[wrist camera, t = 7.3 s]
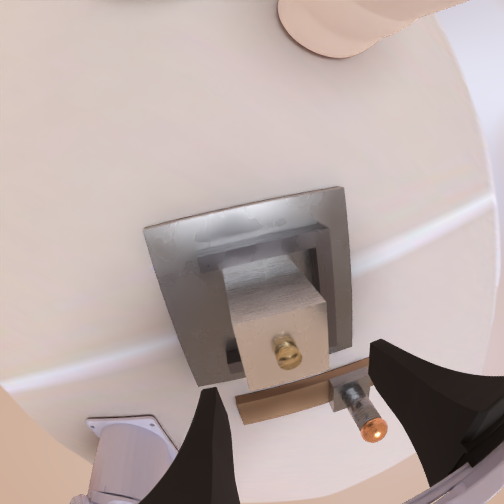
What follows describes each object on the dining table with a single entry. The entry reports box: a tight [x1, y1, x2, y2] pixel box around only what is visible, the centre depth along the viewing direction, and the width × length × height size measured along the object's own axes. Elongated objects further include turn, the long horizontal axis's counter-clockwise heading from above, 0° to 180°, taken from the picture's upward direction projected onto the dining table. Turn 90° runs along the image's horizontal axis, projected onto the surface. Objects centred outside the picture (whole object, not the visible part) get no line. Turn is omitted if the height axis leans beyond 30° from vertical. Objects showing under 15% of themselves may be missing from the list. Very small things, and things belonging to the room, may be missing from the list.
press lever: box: [329, 366, 388, 443], centre depth 20 cm, size 4×4×7 cm
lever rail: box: [235, 357, 374, 425], centre depth 24 cm, size 3×13×1 cm, turn 101°
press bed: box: [143, 187, 352, 387], centre depth 19 cm, size 13×13×2 cm
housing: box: [223, 260, 329, 391], centre depth 16 cm, size 4×4×7 cm
